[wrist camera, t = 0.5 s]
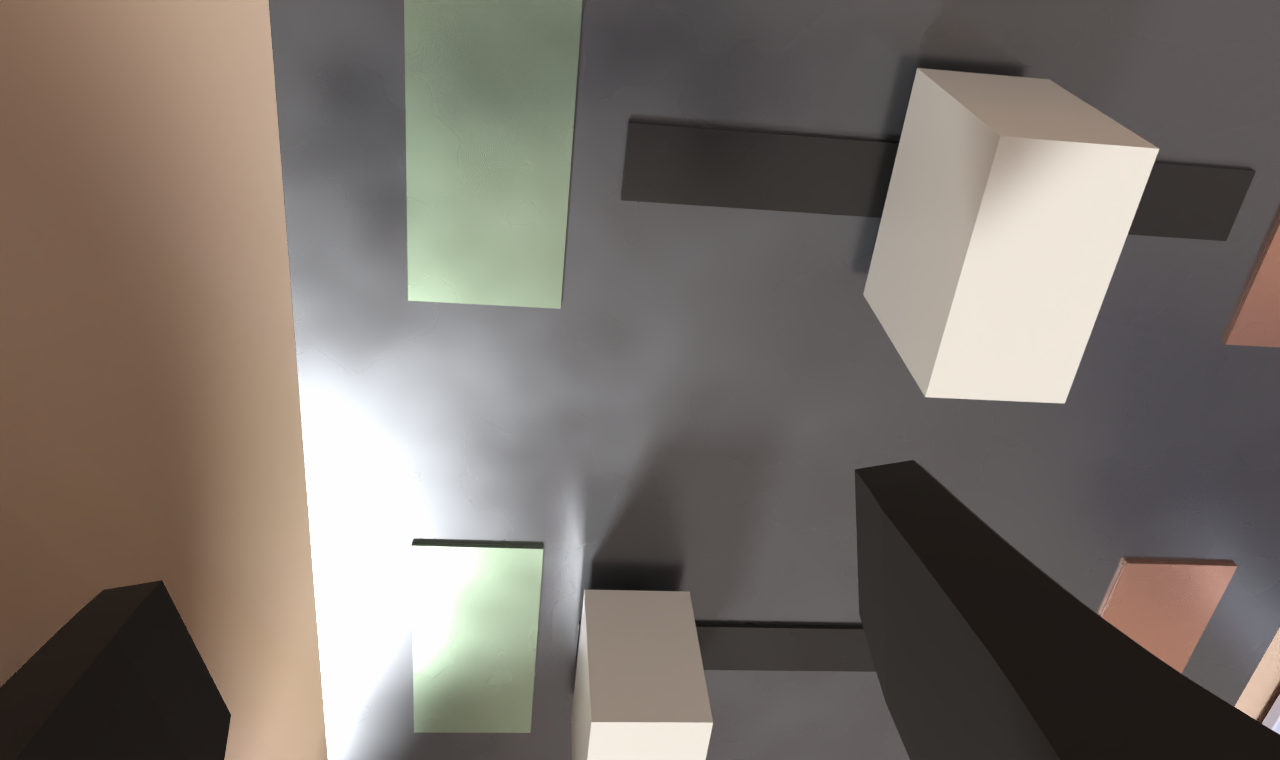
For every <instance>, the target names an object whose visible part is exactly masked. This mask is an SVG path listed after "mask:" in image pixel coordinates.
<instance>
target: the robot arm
mask: <svg viewBox="0 0 1280 760" xmlns="http://www.w3.org/2000/svg"><path fill="white" fill-rule="evenodd" d="M855 499H856V530H857V562H858V593H859V615H860V619H861V622H862V625H863V629H864V632H865V636H866V639H867V642H868V646H869V649H870V653H871V656H872V660H873V663H874V666H875V669H876V673H877V676H878V679H879V682H880V686H881V689H882V692H883V695H884V699H885V702H886V704H887V707H888V709H889V711H890V714H891V716H892V719H893V721H894V723H895V726H896V728H897V730H898V733H899V735H900V737H901V740H902V742H903V744H904V747H905V749H906V751H907V754H908V756H909V758H910V760H1280V694H1279V696H1278V697H1277V699H1276V701H1275V702H1274V704H1273V706H1272V707H1271V709H1270V711H1269V712H1268V714H1267V716H1266V717H1265V719H1264V721H1263V722H1262V724H1261V723H1260V722H1258V721H1256V720H1255V719H1253V718H1251V717H1250V716H1248V715H1247V714H1245V713H1243V712H1242V711H1240V710H1239V709H1237V708H1235V707H1234V706H1232V705H1230V704H1229V703H1227V702H1226V701H1224V700H1222V699H1221V698H1219V697H1218V696H1216V695H1214V694H1213V693H1211V692H1210V691H1208V690H1206V689H1205V688H1203V687H1201V686H1200V685H1198V684H1197V683H1195V682H1193V681H1192V680H1190V679H1189V678H1187V677H1186V676H1184V675H1183V674H1181V673H1180V672H1178V671H1177V670H1175V669H1174V668H1172V667H1171V666H1169V665H1168V664H1166V663H1165V662H1164V661H1162V660H1161V659H1159V658H1158V657H1156V656H1155V655H1153V654H1152V653H1150V652H1149V651H1148V650H1146V649H1145V648H1143V647H1142V646H1141V645H1139V644H1138V643H1137V642H1135V641H1134V640H1132V639H1131V638H1130V637H1128V636H1127V635H1125V634H1124V633H1123V632H1121V631H1120V630H1119V629H1117V628H1116V627H1114V626H1113V625H1112V624H1110V623H1109V622H1107V621H1106V620H1105V619H1103V618H1102V617H1101V616H1099V615H1098V614H1097V613H1096V612H1094V611H1093V610H1092V609H1090V608H1089V607H1088V606H1086V605H1085V604H1084V603H1082V602H1081V601H1080V600H1078V599H1077V598H1076V597H1075V596H1073V595H1072V594H1071V593H1070V592H1068V591H1067V590H1066V589H1065V588H1063V587H1062V586H1061V585H1060V584H1058V583H1057V582H1056V581H1055V580H1053V579H1052V578H1051V577H1050V576H1048V575H1047V574H1046V573H1045V572H1043V571H1042V570H1041V569H1040V568H1038V567H1037V566H1036V565H1035V564H1033V563H1032V562H1031V561H1030V560H1028V559H1027V558H1026V557H1025V556H1024V555H1022V554H1021V553H1020V552H1019V551H1018V550H1016V549H1015V548H1014V547H1013V546H1012V545H1010V544H1009V543H1008V542H1007V541H1006V540H1005V539H1003V538H1002V537H1001V536H1000V535H999V534H998V533H996V532H995V531H994V530H993V529H992V528H991V527H990V526H988V525H987V524H986V523H985V522H984V521H983V520H981V519H980V518H979V517H978V516H977V515H976V514H975V513H973V512H972V511H971V510H970V509H969V508H968V507H967V506H966V505H964V504H963V503H962V502H961V501H960V500H959V499H958V498H957V497H956V496H954V495H953V494H952V493H951V492H950V491H949V490H948V489H947V488H946V487H945V486H943V485H942V484H941V483H940V482H939V481H938V480H937V479H936V478H935V477H933V476H932V475H931V474H930V473H929V472H928V471H927V470H926V469H925V468H923V467H922V466H921V465H919V464H918V463H917V462H915V461H914V460H909V461H903V462H897V463H891V464H884V465H878V466H872V467H866V468H860V469H855ZM230 717H231V714H230V712H229V710H228V708H227V706H226V705H225V703H224V701H223V699H222V697H221V695H220V693H219V691H218V689H217V687H216V685H215V683H214V681H213V679H212V677H211V675H210V673H209V671H208V669H207V667H206V665H205V664H204V662H203V660H202V658H201V656H200V654H199V652H198V650H197V648H196V646H195V644H194V642H193V640H192V638H191V636H190V634H189V632H188V630H187V628H186V626H185V624H184V623H183V621H182V619H181V617H180V615H179V613H178V611H177V609H176V607H175V605H174V603H173V601H172V599H171V597H170V595H169V593H168V591H167V589H166V587H165V585H164V583H163V582H162V581H156V582H150V583H144V584H138V585H132V586H125V587H119V588H113V589H107V590H103V591H102V592H101V593H100V594H99V595H97V596H96V597H95V598H94V599H93V600H92V601H90V602H89V603H88V604H87V605H86V606H85V607H84V608H83V609H81V610H80V611H79V612H78V613H77V614H76V615H75V616H74V617H73V618H72V619H71V620H70V621H69V622H67V623H66V624H65V625H64V626H63V627H62V628H61V629H60V630H59V631H58V632H57V633H56V634H55V635H54V636H53V637H52V638H51V639H50V640H49V641H48V642H47V643H46V644H45V645H44V646H42V647H41V648H40V649H39V650H38V651H37V652H36V653H35V654H34V655H33V656H32V657H31V658H30V659H29V660H28V661H27V662H26V663H25V664H24V665H23V666H22V667H21V668H20V669H19V670H18V671H17V672H16V673H15V674H14V675H13V676H12V677H11V678H10V679H9V680H8V681H7V682H6V683H5V684H4V685H3V686H2V687H1V688H0V760H224V757H225V750H226V744H227V737H228V731H229V724H230Z"/></svg>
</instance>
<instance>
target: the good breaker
mask: <svg viewBox="0 0 1280 760" xmlns="http://www.w3.org/2000/svg"><path fill="white" fill-rule="evenodd" d="M712 726H713V719H712V713H711V708H710V702H709V697H708V691H707V686H706V680H705V675H704V669H703V664H702V658H701V652H700V647H699V641H698V636H697V630H696V625H695V619H694V614H693V608H692V602H691V597H690V592H684V591H633V590H584V597H583V607H582V617H581V627H580V637H579V647H578V657H577V667H576V677H575V687H574V697H573V707H572V717H571V734H572V760H706V755H707V750H708V745H709V741H710V736H711V731H712Z"/></svg>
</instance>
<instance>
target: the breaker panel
mask: <svg viewBox="0 0 1280 760" xmlns="http://www.w3.org/2000/svg"><path fill="white" fill-rule="evenodd" d="M269 10H270V23H271V36H272V49H273V61H274V74H275V87H276V100H277V113H278V126H279V139H280V152H281V164H282V177H283V190H284V203H285V216H286V229H287V242H288V254H289V267H290V280H291V293H292V306H293V319H294V332H295V344H296V357H297V370H298V383H299V396H300V409H301V422H302V435H303V447H304V460H305V473H306V486H307V499H308V512H309V525H310V537H311V550H312V563H313V576H314V589H315V602H316V615H317V627H318V640H319V653H320V666H321V679H322V692H323V705H324V718H325V730H326V743H327V756H328V760H572V734H571V717H572V707H573V697H574V687H575V677H576V667H577V657H578V647H579V637H580V627H581V617H582V607H583V597H584V590H633V591H684V592H690V597H691V602H692V608H693V614H694V619H695V625H696V630H697V636H698V641H699V647H700V652H701V658H702V664H703V669H704V675H705V680H706V686H707V691H708V697H709V702H710V708H711V713H712V719H713V726H712V731H711V736H710V741H709V745H708V750H707V755H706V760H910V758H909V756H908V754H907V751H906V749H905V747H904V744H903V742H902V740H901V737H900V735H899V733H898V730H897V728H896V726H895V723H894V721H893V719H892V716H891V714H890V711H889V709H888V707H887V704H886V702H885V699H884V695H883V692H882V689H881V686H880V682H879V679H878V676H877V673H876V669H875V666H874V663H873V660H872V656H871V653H870V649H869V646H868V642H867V639H866V636H865V632H864V629H863V625H862V622H861V619H860V615H859V593H858V562H857V530H856V499H855V469H860V468H866V467H872V466H878V465H884V464H891V463H897V462H903V461H909V460H914V461H915V462H917V463H918V464H919V465H921V466H922V467H923V468H925V469H926V470H927V471H928V472H929V473H930V474H931V475H932V476H933V477H935V478H936V479H937V480H938V481H939V482H940V483H941V484H942V485H943V486H945V487H946V488H947V489H948V490H949V491H950V492H951V493H952V494H953V495H954V496H956V497H957V498H958V499H959V500H960V501H961V502H962V503H963V504H964V505H966V506H967V507H968V508H969V509H970V510H971V511H972V512H973V513H975V514H976V515H977V516H978V517H979V518H980V519H981V520H983V521H984V522H985V523H986V524H987V525H988V526H990V527H991V528H992V529H993V530H994V531H995V532H996V533H998V534H999V535H1000V536H1001V537H1002V538H1003V539H1005V540H1006V541H1007V542H1008V543H1009V544H1010V545H1012V546H1013V547H1014V548H1015V549H1016V550H1018V551H1019V552H1020V553H1021V554H1022V555H1024V556H1025V557H1026V558H1027V559H1028V560H1030V561H1031V562H1032V563H1033V564H1035V565H1036V566H1037V567H1038V568H1040V569H1041V570H1042V571H1043V572H1045V573H1046V574H1047V575H1048V576H1050V577H1051V578H1052V579H1053V580H1055V581H1056V582H1057V583H1058V584H1060V585H1061V586H1062V587H1063V588H1065V589H1066V590H1067V591H1068V592H1070V593H1071V594H1072V595H1073V596H1075V597H1076V598H1077V599H1078V600H1080V601H1081V602H1082V603H1084V604H1085V605H1086V606H1088V607H1089V608H1090V609H1092V610H1093V611H1094V612H1096V613H1097V614H1098V615H1099V616H1101V617H1102V618H1103V619H1105V620H1106V621H1107V622H1109V623H1110V624H1112V625H1113V626H1114V627H1116V628H1117V629H1119V630H1120V631H1121V632H1123V633H1124V634H1125V635H1127V636H1128V637H1130V638H1131V639H1132V640H1134V641H1135V642H1137V643H1138V644H1139V645H1141V646H1142V647H1143V648H1145V649H1146V650H1148V651H1149V652H1150V653H1152V654H1153V655H1155V656H1156V657H1158V658H1159V659H1161V660H1162V661H1164V662H1165V663H1166V664H1168V665H1169V666H1171V667H1172V668H1174V669H1175V670H1177V671H1178V672H1180V673H1181V674H1183V675H1184V676H1186V677H1187V678H1189V679H1190V680H1192V681H1193V682H1195V683H1197V684H1198V685H1200V686H1201V687H1203V688H1205V689H1206V690H1208V691H1210V692H1211V693H1213V694H1214V695H1216V696H1218V697H1219V698H1221V699H1222V700H1224V701H1226V702H1227V703H1229V704H1230V705H1232V706H1235V704H1236V703H1237V701H1238V699H1239V697H1240V696H1241V694H1242V692H1243V690H1244V689H1245V687H1246V685H1247V683H1248V682H1249V680H1250V678H1251V676H1252V675H1253V673H1254V671H1255V669H1256V668H1257V666H1258V664H1259V662H1260V661H1261V659H1262V657H1263V655H1264V654H1265V652H1266V650H1267V648H1268V647H1269V645H1270V643H1271V641H1272V640H1273V638H1274V636H1275V634H1276V633H1277V631H1278V629H1279V628H1280V0H269ZM917 68H924V69H935V70H947V71H958V72H970V73H981V74H993V75H1004V76H1016V77H1028V78H1039V79H1049V80H1051V81H1053V82H1054V83H1056V84H1057V85H1059V86H1061V87H1062V88H1064V89H1065V90H1067V91H1068V92H1070V93H1072V94H1073V95H1075V96H1076V97H1078V98H1080V99H1081V100H1083V101H1084V102H1086V103H1088V104H1089V105H1091V106H1092V107H1094V108H1095V109H1097V110H1099V111H1100V112H1102V113H1103V114H1105V115H1107V116H1108V117H1110V118H1111V119H1113V120H1115V121H1116V122H1118V123H1119V124H1121V125H1122V126H1124V127H1126V128H1127V129H1129V130H1130V131H1132V132H1134V133H1135V134H1137V135H1138V136H1140V137H1141V138H1143V139H1145V140H1146V141H1148V142H1149V143H1151V144H1153V145H1154V146H1156V147H1157V148H1159V151H1158V154H1157V157H1156V159H1155V162H1154V165H1153V167H1152V170H1151V173H1150V175H1149V178H1148V181H1147V184H1146V186H1145V189H1144V192H1143V194H1142V197H1141V200H1140V202H1139V205H1138V208H1137V210H1136V213H1135V216H1134V219H1133V221H1132V224H1131V227H1130V229H1129V232H1128V235H1127V237H1126V240H1125V243H1124V245H1123V248H1122V251H1121V254H1120V256H1119V259H1118V262H1117V264H1116V267H1115V270H1114V272H1113V275H1112V278H1111V280H1110V283H1109V286H1108V289H1107V291H1106V294H1105V297H1104V299H1103V302H1102V305H1101V307H1100V310H1099V313H1098V315H1097V318H1096V321H1095V324H1094V326H1093V329H1092V332H1091V334H1090V337H1089V340H1088V342H1087V345H1086V348H1085V350H1084V353H1083V356H1082V359H1081V361H1080V364H1079V367H1078V369H1077V372H1076V375H1075V377H1074V380H1073V383H1072V385H1071V388H1070V391H1069V394H1068V396H1067V399H1066V402H1065V403H1042V402H1020V401H998V400H976V399H954V398H931V397H925V396H924V394H923V393H922V391H921V389H920V388H919V386H918V384H917V383H916V381H915V380H914V378H913V376H912V375H911V373H910V371H909V370H908V368H907V366H906V365H905V363H904V361H903V360H902V358H901V356H900V355H899V353H898V351H897V350H896V348H895V346H894V345H893V343H892V341H891V340H890V338H889V336H888V335H887V333H886V331H885V330H884V328H883V326H882V325H881V323H880V322H879V320H878V318H877V317H876V315H875V313H874V312H873V310H872V308H871V307H870V305H869V303H868V302H867V300H866V298H865V297H864V295H863V294H864V289H865V285H866V281H867V277H868V273H869V268H870V264H871V260H872V256H873V251H874V247H875V243H876V239H877V235H878V230H879V226H880V222H881V218H882V214H883V209H884V205H885V201H886V197H887V193H888V188H889V184H890V180H891V176H892V172H893V167H894V163H895V159H896V155H897V151H898V146H899V142H900V138H901V134H902V130H903V125H904V121H905V117H906V113H907V108H908V104H909V100H910V96H911V92H912V87H913V83H914V79H915V75H916V71H917Z"/></svg>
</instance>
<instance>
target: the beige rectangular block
mask: <svg viewBox="0 0 1280 760" xmlns="http://www.w3.org/2000/svg"><path fill="white" fill-rule="evenodd" d="M1158 151H1159V148H1157V147H1156V146H1154V145H1153V144H1151V143H1149V142H1148V141H1146V140H1145V139H1143V138H1141V137H1140V136H1138V135H1137V134H1135V133H1134V132H1132V131H1130V130H1129V129H1127V128H1126V127H1124V126H1122V125H1121V124H1119V123H1118V122H1116V121H1115V120H1113V119H1111V118H1110V117H1108V116H1107V115H1105V114H1103V113H1102V112H1100V111H1099V110H1097V109H1095V108H1094V107H1092V106H1091V105H1089V104H1088V103H1086V102H1084V101H1083V100H1081V99H1080V98H1078V97H1076V96H1075V95H1073V94H1072V93H1070V92H1068V91H1067V90H1065V89H1064V88H1062V87H1061V86H1059V85H1057V84H1056V83H1054V82H1053V81H1051V80H1049V79H1039V78H1028V77H1016V76H1004V75H993V74H981V73H970V72H958V71H947V70H935V69H924V68H917V71H916V75H915V79H914V83H913V87H912V92H911V96H910V100H909V104H908V108H907V113H906V117H905V121H904V125H903V130H902V134H901V138H900V142H899V146H898V151H897V155H896V159H895V163H894V167H893V172H892V176H891V180H890V184H889V188H888V193H887V197H886V201H885V205H884V209H883V214H882V218H881V222H880V226H879V230H878V235H877V239H876V243H875V247H874V251H873V256H872V260H871V264H870V268H869V273H868V277H867V281H866V285H865V289H864V294H863V295H864V297H865V298H866V300H867V302H868V303H869V305H870V307H871V308H872V310H873V312H874V313H875V315H876V317H877V318H878V320H879V322H880V323H881V325H882V326H883V328H884V330H885V331H886V333H887V335H888V336H889V338H890V340H891V341H892V343H893V345H894V346H895V348H896V350H897V351H898V353H899V355H900V356H901V358H902V360H903V361H904V363H905V365H906V366H907V368H908V370H909V371H910V373H911V375H912V376H913V378H914V380H915V381H916V383H917V384H918V386H919V388H920V389H921V391H922V393H923V394H924V396H925V397H931V398H954V399H976V400H998V401H1020V402H1042V403H1065V402H1066V399H1067V396H1068V394H1069V391H1070V388H1071V385H1072V383H1073V380H1074V377H1075V375H1076V372H1077V369H1078V367H1079V364H1080V361H1081V359H1082V356H1083V353H1084V350H1085V348H1086V345H1087V342H1088V340H1089V337H1090V334H1091V332H1092V329H1093V326H1094V324H1095V321H1096V318H1097V315H1098V313H1099V310H1100V307H1101V305H1102V302H1103V299H1104V297H1105V294H1106V291H1107V289H1108V286H1109V283H1110V280H1111V278H1112V275H1113V272H1114V270H1115V267H1116V264H1117V262H1118V259H1119V256H1120V254H1121V251H1122V248H1123V245H1124V243H1125V240H1126V237H1127V235H1128V232H1129V229H1130V227H1131V224H1132V221H1133V219H1134V216H1135V213H1136V210H1137V208H1138V205H1139V202H1140V200H1141V197H1142V194H1143V192H1144V189H1145V186H1146V184H1147V181H1148V178H1149V175H1150V173H1151V170H1152V167H1153V165H1154V162H1155V159H1156V157H1157V154H1158Z"/></svg>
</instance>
